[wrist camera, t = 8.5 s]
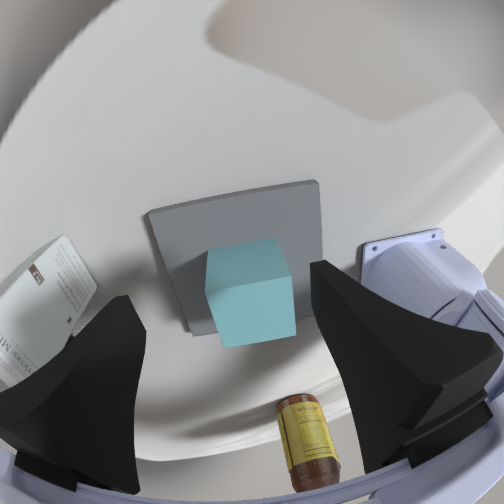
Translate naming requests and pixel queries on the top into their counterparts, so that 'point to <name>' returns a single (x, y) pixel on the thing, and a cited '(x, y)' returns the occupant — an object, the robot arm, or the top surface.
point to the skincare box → (41, 308)
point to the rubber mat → (239, 240)
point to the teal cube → (250, 293)
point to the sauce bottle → (307, 443)
